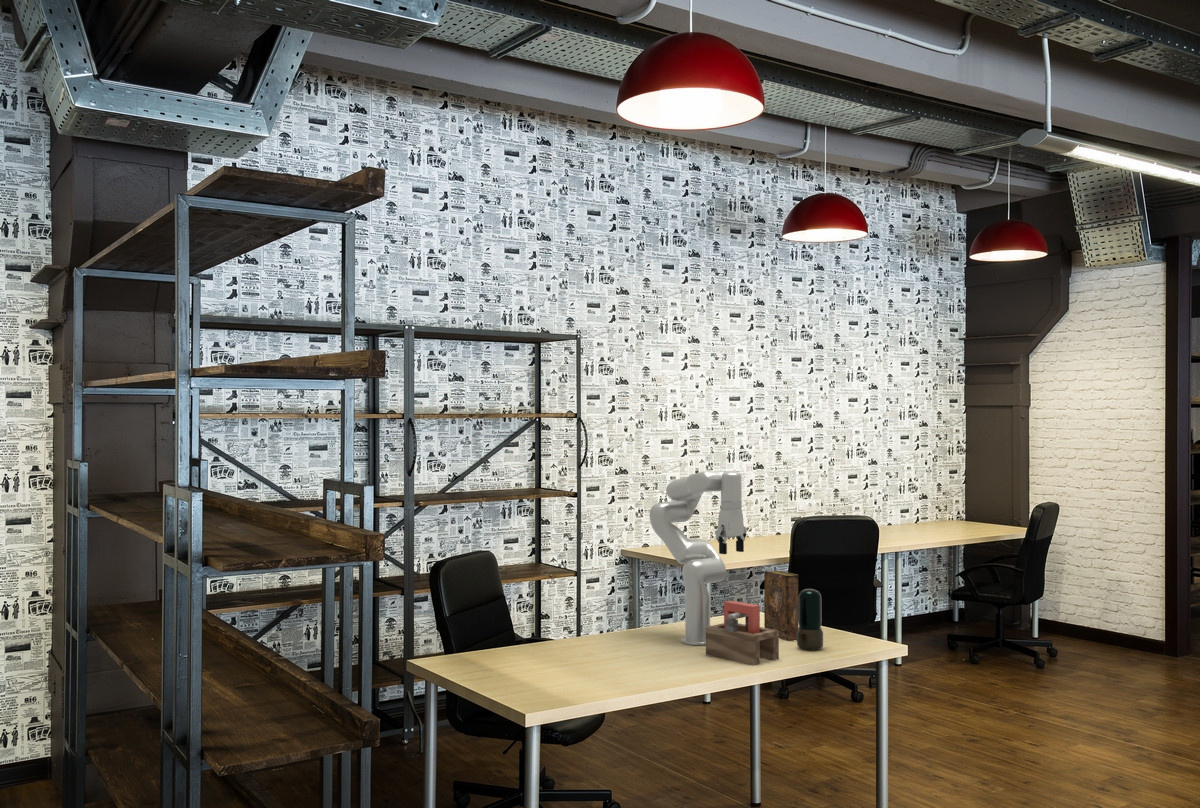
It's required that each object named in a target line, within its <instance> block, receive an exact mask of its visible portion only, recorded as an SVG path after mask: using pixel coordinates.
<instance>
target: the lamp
mask: <svg viewBox="0 0 1200 808" xmlns="http://www.w3.org/2000/svg"><path fill="white" fill-rule="evenodd" d="M822 623H823V622H822V595H821V593H820V591H818V590H816V589H813V588H805V589H803V590H801V591H800V592H798V630H797V640H796V646H797V647H798V648H799V649H800V650H804V651H819V650H822V648H823V647H824V631H823V629H822Z"/></svg>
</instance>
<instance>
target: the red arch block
mask: <svg viewBox="0 0 1200 808" xmlns="http://www.w3.org/2000/svg"><path fill="white" fill-rule="evenodd" d="M760 610H761V605H760V604H754V603H748V602H742V601H736V600H728V601H727V600H726V601H724V602H723V623H724V628H725V629H726V619H727V615H729V614H734V613H743V614H748V633H752V634H755V633H760V627H761V626H760V625H761V611H760Z"/></svg>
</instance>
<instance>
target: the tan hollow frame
mask: <svg viewBox="0 0 1200 808" xmlns="http://www.w3.org/2000/svg"><path fill="white" fill-rule="evenodd" d="M742 618H745V622H744V623H745V624H743V623H739V620H738V619H742ZM779 639H780V638H779V630H773V629H767V628H764V627H761V626H760V633H755V634H752V633H748V614H743V613H737V612H735V613H734V614H729V615H727V619H726V629H725V628H724V622H723V623H719V624H715V625H714V624H713V625H710V626H708V627H706V645H705V656H709V657H714V658H720V659H724V660H729V661H733V662H738V663H740V664H741V663H742V664H747V665H752V666H757V665H760V661H761V660H760V659H765V660H766V659H767V660H771V661H776V660H779V658H780V653H779V651H780V649H779V647H780V645H779V643H780V642H779Z"/></svg>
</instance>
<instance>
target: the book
mask: <svg viewBox="0 0 1200 808" xmlns="http://www.w3.org/2000/svg"><path fill="white" fill-rule="evenodd" d="M763 576H764V577H763V578H764V582H763V583H764V584H763V587H764V589H763V591H764V600H763V601H764V603H763V604H764V607H763V608H764V610H763V611H764V615H763V617H764V620H763V621H764V624H763V626H764V627H763V628H767V629H773V630H779V639H781V640H784V641H788V642H794V640H796V641H797V630H798V628H799V622H798V595H799V574H796V573H791V572H787V571H782V570H778V569H776V570H772V571H769V570H764V574H763Z"/></svg>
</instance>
